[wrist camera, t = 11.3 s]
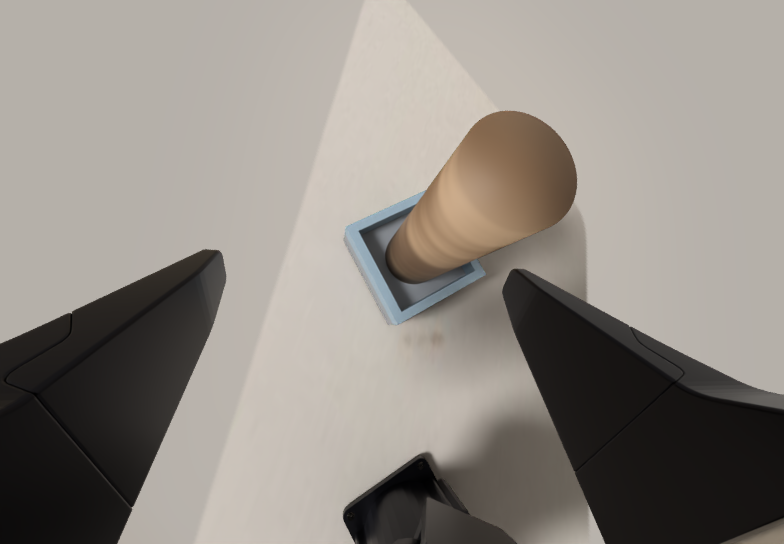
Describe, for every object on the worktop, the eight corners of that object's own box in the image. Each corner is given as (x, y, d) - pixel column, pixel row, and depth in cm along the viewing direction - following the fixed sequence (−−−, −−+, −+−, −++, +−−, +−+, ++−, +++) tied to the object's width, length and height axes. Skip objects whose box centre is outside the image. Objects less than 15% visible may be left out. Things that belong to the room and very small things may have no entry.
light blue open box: (388, 324, 23) (397, 324, 20) (343, 240, 23) (345, 226, 20) (464, 281, 25) (486, 274, 21) (422, 203, 25) (436, 185, 22)
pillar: (424, 294, 22) (552, 254, 9) (375, 267, 21) (439, 187, 9) (447, 247, 23) (592, 153, 10) (400, 220, 22) (491, 88, 10)
